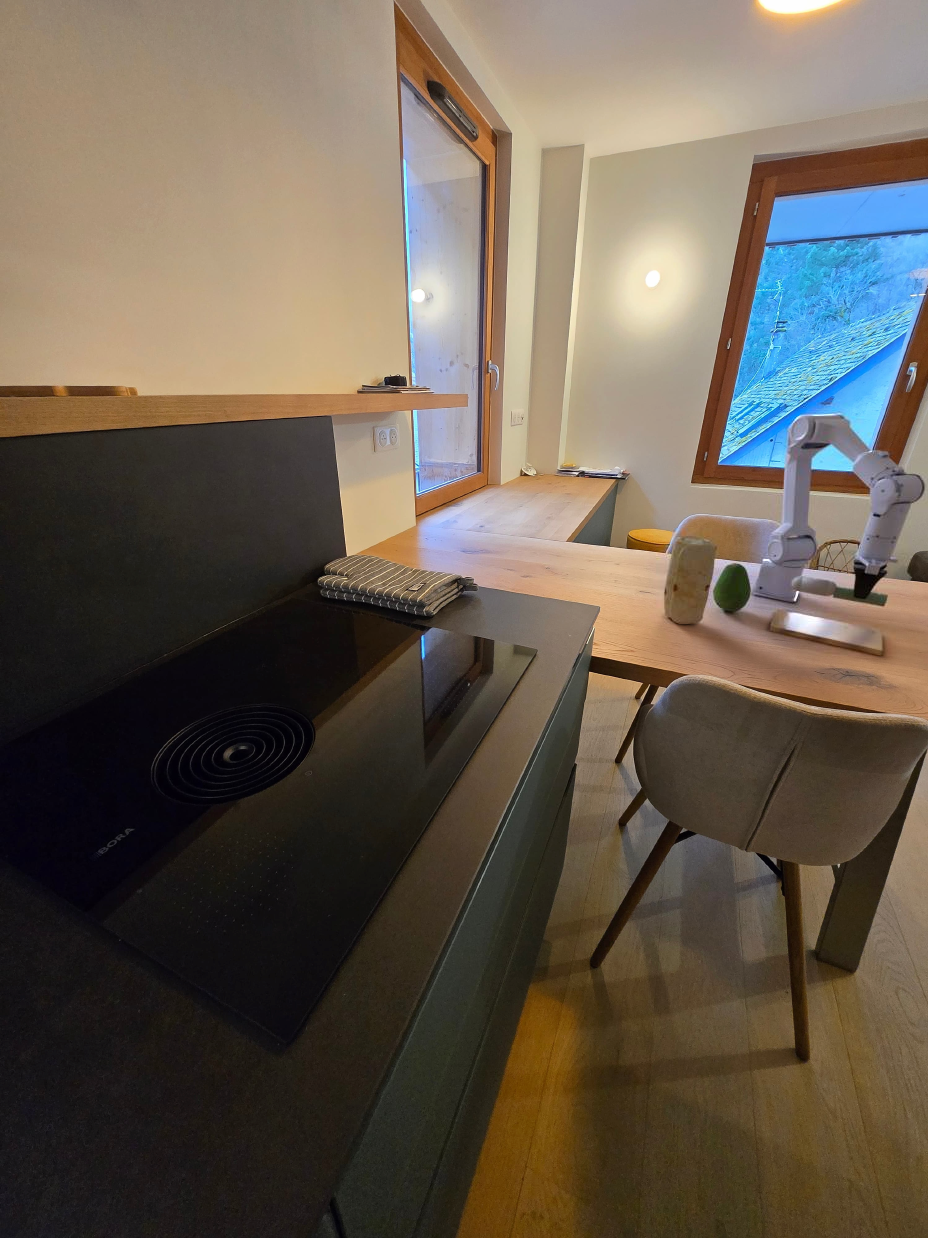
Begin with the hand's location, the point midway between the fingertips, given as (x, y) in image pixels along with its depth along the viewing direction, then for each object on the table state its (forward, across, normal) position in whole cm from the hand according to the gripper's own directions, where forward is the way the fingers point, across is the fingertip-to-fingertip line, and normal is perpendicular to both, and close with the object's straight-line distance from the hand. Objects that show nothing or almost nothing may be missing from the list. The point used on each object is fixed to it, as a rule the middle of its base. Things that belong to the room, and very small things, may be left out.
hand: (859, 595), depth 107 cm
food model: (+9, -15, +32) cm, 37 cm away
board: (+8, -4, +4) cm, 10 cm away
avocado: (+9, -3, +24) cm, 26 cm away
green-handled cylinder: (+1, 0, +4) cm, 4 cm away
